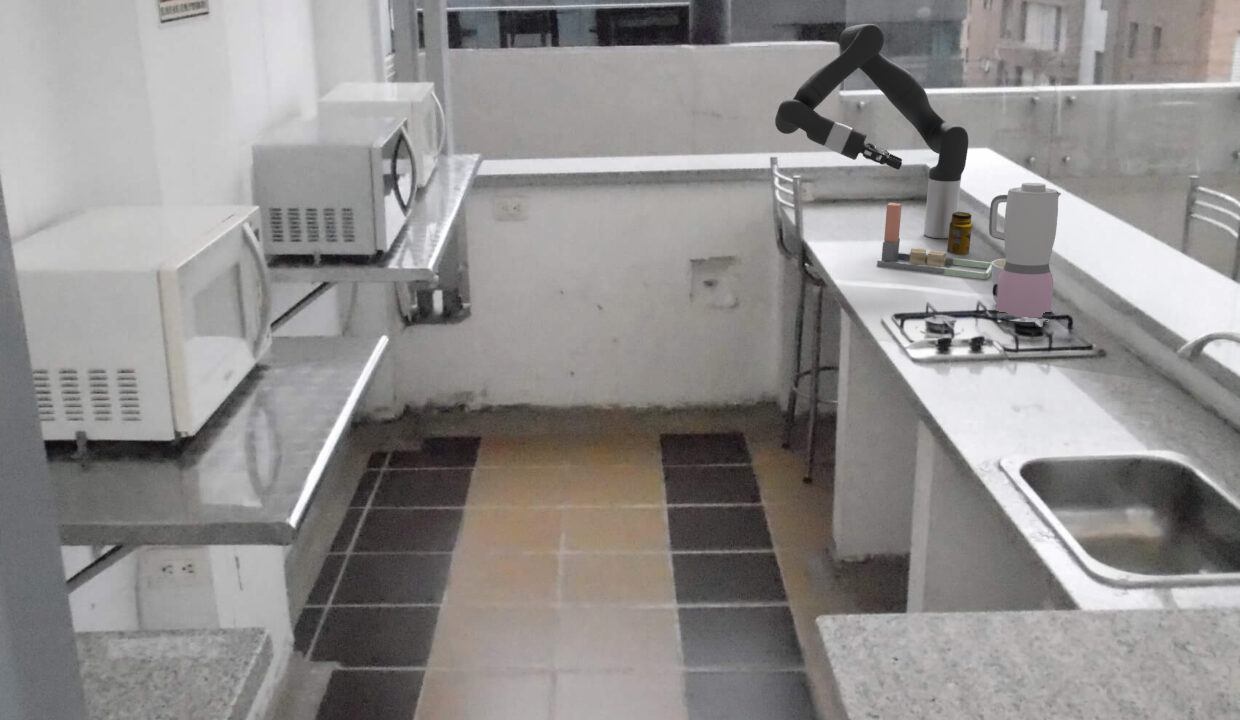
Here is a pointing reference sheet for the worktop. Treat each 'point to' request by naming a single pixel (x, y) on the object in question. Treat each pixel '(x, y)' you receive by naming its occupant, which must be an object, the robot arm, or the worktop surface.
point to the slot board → (904, 264)
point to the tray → (970, 273)
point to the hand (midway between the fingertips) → (900, 164)
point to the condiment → (959, 233)
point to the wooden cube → (918, 256)
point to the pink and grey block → (892, 232)
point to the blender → (1026, 249)
